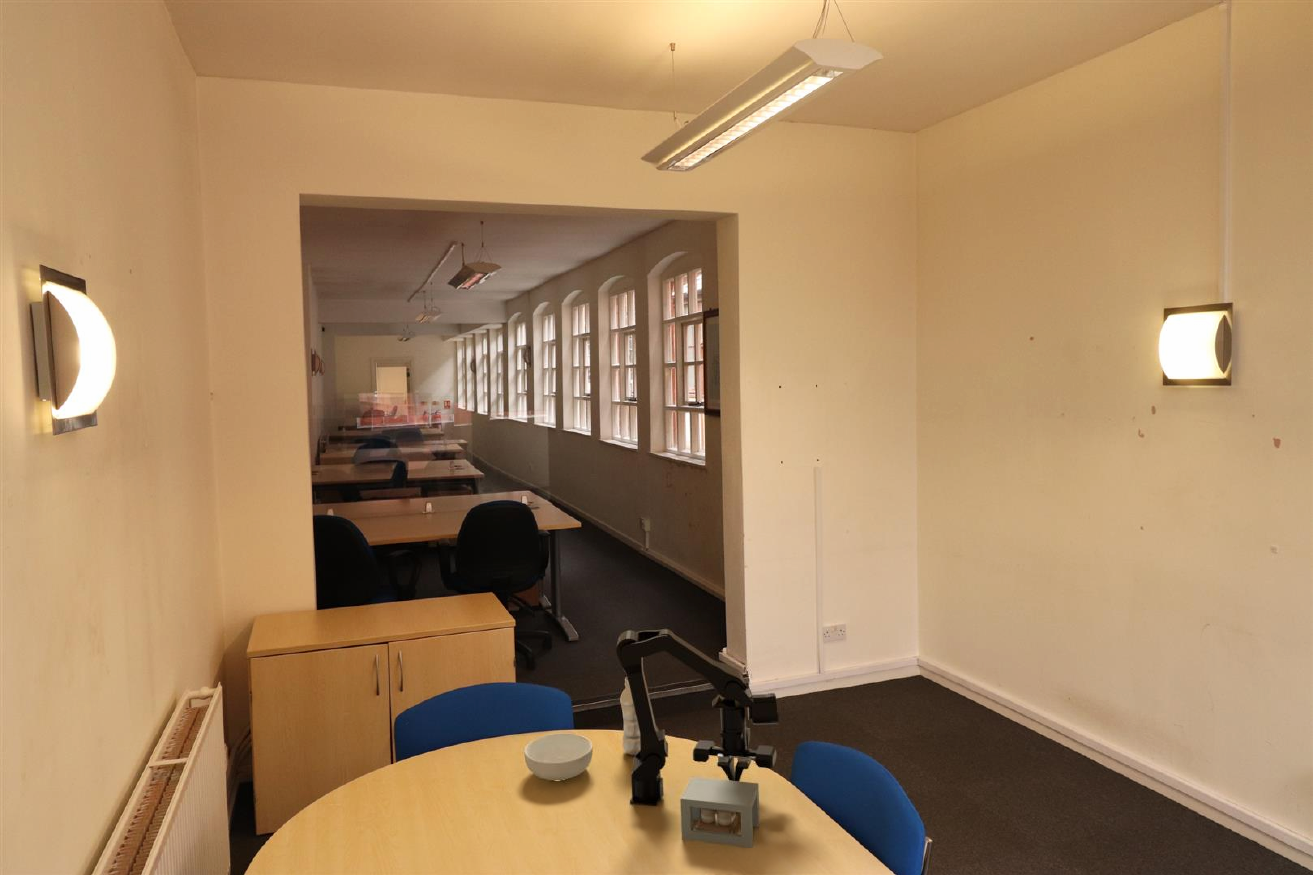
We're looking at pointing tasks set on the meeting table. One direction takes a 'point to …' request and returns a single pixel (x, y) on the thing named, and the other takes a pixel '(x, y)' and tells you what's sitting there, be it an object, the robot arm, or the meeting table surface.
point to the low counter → (720, 798)
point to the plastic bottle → (629, 722)
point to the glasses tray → (716, 827)
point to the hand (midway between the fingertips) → (735, 788)
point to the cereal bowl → (558, 755)
